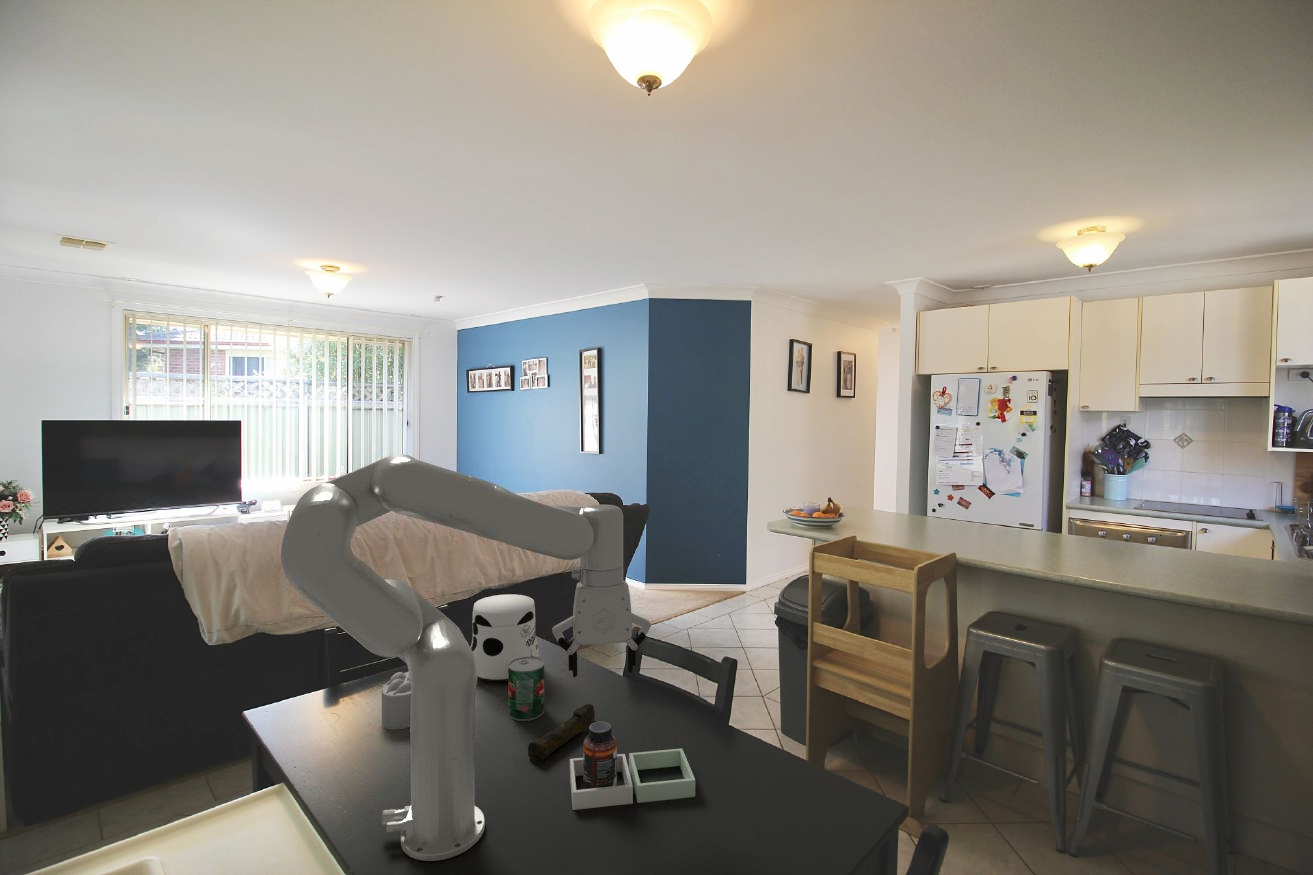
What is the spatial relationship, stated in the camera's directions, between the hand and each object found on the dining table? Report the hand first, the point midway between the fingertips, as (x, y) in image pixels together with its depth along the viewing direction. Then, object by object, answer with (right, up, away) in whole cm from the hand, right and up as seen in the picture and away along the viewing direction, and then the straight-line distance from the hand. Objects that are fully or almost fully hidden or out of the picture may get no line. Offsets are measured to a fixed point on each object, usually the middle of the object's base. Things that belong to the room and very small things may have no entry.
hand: (602, 671), depth 109 cm
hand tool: (-9, -21, +17) cm, 28 cm away
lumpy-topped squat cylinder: (-44, -20, +27) cm, 55 cm away
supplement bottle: (0, -21, +1) cm, 21 cm away
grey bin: (0, -21, +1) cm, 21 cm away
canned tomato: (-19, -20, +28) cm, 40 cm away
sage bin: (+10, -21, +3) cm, 24 cm away
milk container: (-29, -19, +49) cm, 60 cm away
